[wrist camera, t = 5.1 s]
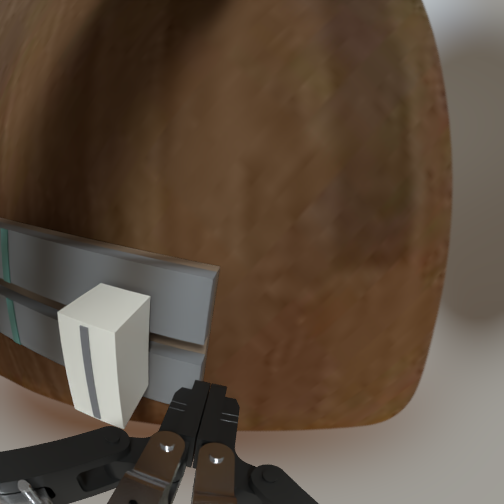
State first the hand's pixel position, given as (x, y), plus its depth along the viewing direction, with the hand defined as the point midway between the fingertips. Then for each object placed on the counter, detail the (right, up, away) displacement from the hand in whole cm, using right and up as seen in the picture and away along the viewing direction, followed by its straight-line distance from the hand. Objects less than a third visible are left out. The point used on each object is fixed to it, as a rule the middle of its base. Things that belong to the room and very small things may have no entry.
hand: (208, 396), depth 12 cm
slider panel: (-10, +4, +5) cm, 12 cm away
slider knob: (-5, +2, +4) cm, 7 cm away
